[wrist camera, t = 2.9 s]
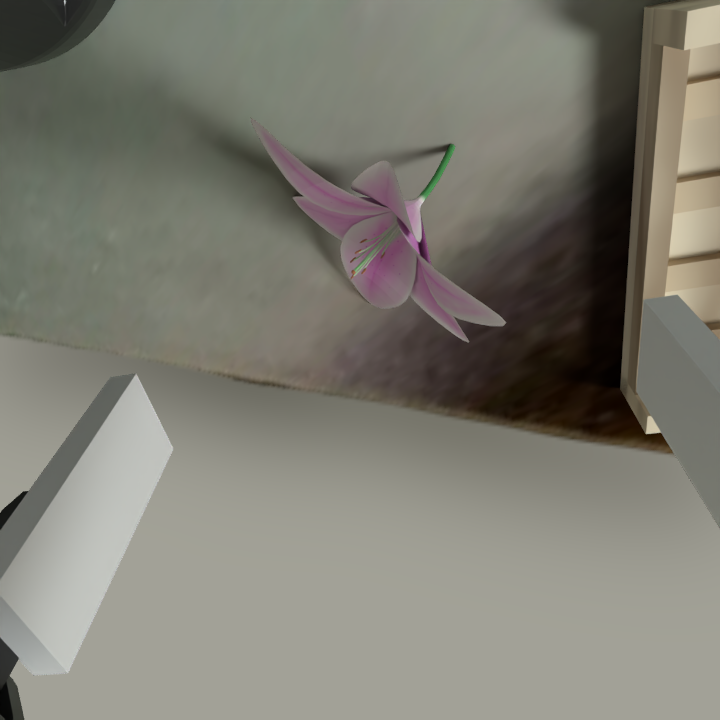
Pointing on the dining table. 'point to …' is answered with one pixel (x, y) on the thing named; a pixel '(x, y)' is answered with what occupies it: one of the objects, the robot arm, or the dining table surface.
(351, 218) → the lily
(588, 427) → the dining table surface
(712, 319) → the drying rack
